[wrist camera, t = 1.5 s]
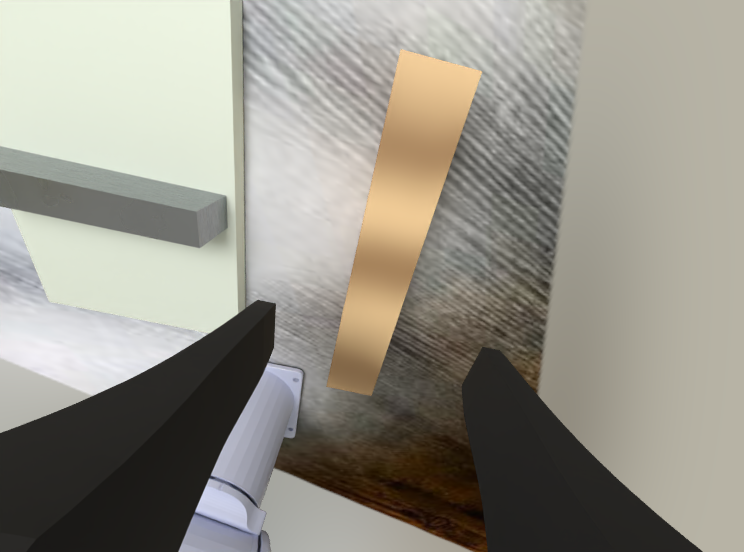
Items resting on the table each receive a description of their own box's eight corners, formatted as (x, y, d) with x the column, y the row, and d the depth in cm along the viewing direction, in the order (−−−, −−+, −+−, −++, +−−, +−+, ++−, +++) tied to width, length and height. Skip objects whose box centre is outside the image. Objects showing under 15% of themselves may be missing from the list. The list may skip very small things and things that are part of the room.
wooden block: (375, 343, 24) (371, 395, 20) (338, 335, 24) (326, 386, 19) (457, 80, 15) (482, 71, 11) (399, 65, 15) (400, 49, 11)
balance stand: (245, 329, 24) (218, 369, 20) (64, 292, 23) (3, 327, 20) (242, 0, 14) (187, -37, 10) (-75, -79, 13) (-251, -147, 10)
